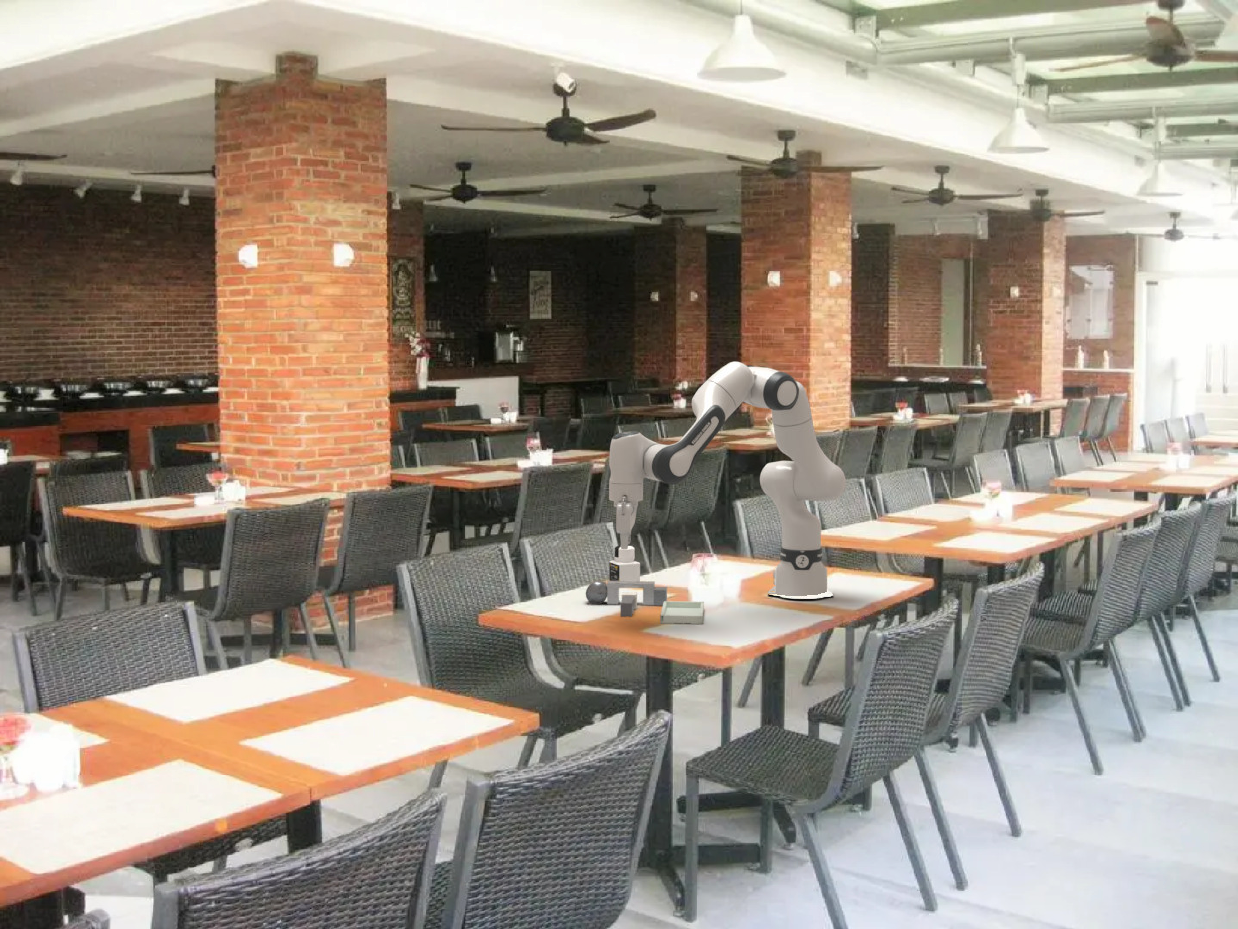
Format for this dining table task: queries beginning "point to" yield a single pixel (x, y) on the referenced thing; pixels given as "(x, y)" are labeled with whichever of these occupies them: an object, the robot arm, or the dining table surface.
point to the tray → (682, 612)
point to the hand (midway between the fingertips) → (625, 546)
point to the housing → (601, 590)
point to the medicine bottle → (624, 565)
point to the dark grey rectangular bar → (628, 603)
